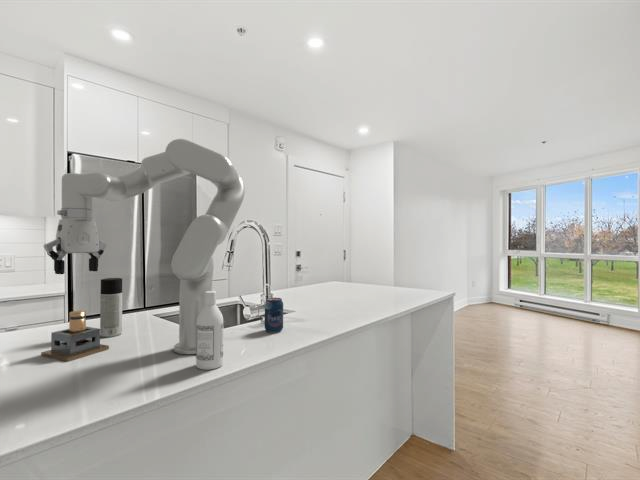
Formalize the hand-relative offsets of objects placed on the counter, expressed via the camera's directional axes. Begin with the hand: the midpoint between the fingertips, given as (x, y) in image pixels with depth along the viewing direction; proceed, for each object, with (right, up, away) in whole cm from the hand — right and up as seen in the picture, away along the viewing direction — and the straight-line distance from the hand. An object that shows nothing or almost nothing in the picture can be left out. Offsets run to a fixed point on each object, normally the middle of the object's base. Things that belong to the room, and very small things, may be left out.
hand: (77, 272), depth 102 cm
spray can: (-1, -24, +19) cm, 31 cm away
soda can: (+56, -25, +26) cm, 66 cm away
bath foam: (+43, -24, -10) cm, 51 cm away
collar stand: (0, -24, 0) cm, 24 cm away
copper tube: (0, -23, 0) cm, 23 cm away
